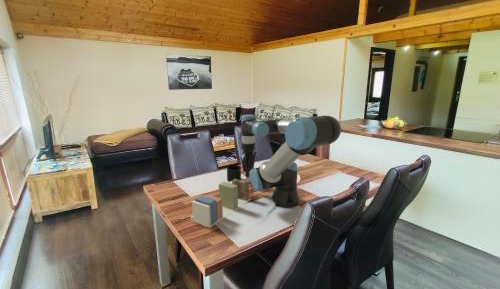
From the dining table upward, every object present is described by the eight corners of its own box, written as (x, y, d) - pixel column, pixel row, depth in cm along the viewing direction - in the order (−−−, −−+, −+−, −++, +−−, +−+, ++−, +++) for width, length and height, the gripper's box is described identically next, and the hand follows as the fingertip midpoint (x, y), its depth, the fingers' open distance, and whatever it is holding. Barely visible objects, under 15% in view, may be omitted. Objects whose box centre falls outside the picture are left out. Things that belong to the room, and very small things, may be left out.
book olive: (237, 206, 132) (237, 185, 129) (233, 210, 129) (232, 188, 126) (224, 202, 137) (223, 181, 134) (219, 205, 133) (218, 184, 131)
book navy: (217, 221, 118) (216, 199, 116) (210, 225, 115) (209, 203, 112) (202, 216, 123) (201, 195, 121) (196, 220, 120) (194, 198, 117)
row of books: (251, 201, 141) (251, 182, 138) (210, 230, 113) (208, 207, 111) (234, 196, 147) (233, 178, 145) (191, 222, 120) (189, 200, 117)
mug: (234, 185, 164) (234, 171, 161) (224, 179, 173) (224, 167, 170) (246, 181, 169) (246, 168, 167) (235, 176, 178) (235, 164, 176)
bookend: (248, 198, 141) (248, 182, 139) (245, 200, 139) (245, 183, 136) (235, 195, 146) (235, 178, 144) (232, 197, 143) (232, 180, 141)
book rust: (222, 216, 122) (222, 198, 120) (217, 220, 119) (216, 201, 117) (210, 212, 127) (209, 194, 124) (204, 215, 123) (203, 197, 121)
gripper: (249, 139, 149) (249, 177, 155) (236, 144, 139) (236, 184, 145) (260, 141, 145) (259, 179, 151) (247, 145, 135) (247, 187, 141)
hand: (248, 181), depth 148 cm, fingers closed
